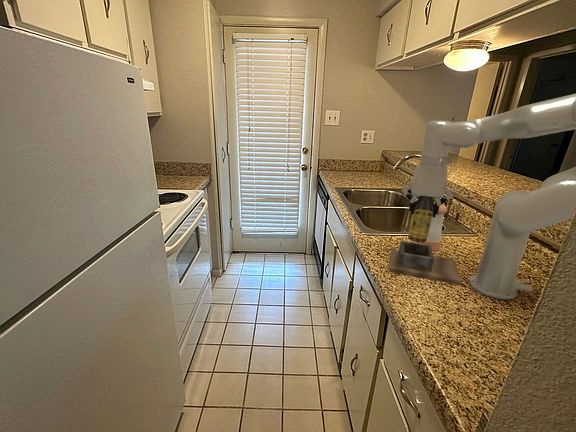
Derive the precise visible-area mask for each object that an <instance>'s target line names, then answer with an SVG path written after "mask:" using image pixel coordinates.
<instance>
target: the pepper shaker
mask: <svg viewBox="0 0 576 432" xmlns="http://www.w3.org/2000/svg"><path fill="white" fill-rule="evenodd" d="M434 204H435V202H434ZM447 212H448V208H447V206H446V205H444V203H443V204H442V205H441V206H439V211H438V215H437V214H436V216H435V217H433V216H432V221H431V225H430V229H429V234H428V238H427V240H426V241H425V242H424V243H419V244H425V245H431V248H432V251H438V250H439V249H440V247H441V238H442V234H443V233H442V232H443V231H442V230H443V222H444V216H445V214H446V213H447Z"/></svg>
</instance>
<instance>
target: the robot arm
mask: <svg viewBox="0 0 576 432" xmlns="http://www.w3.org/2000/svg"><path fill="white" fill-rule="evenodd" d="M573 130H576V93H573V94H569V95H565V96H561V97H556V98H552V99H546V100H543V101H539V102H534V103H531V104H526V105H522V106H519V107H517V108H514V109H511V110H508V111H505V112H501V113H498V114H497V113H496V114H493V115H489V116H488V115H487V116H484V117H481V118H476V119H471V120H466V121H465V120H464V121H455V122H452V121H450V120H430V121H428V122H427V124H426V126H425V133H424V136H423V137H424V138H423V142H422V148H421V149H422V150H421V154H420V159H419V163H417V164H416V165H415V167H414V172H413V175H412V180H411V182H410V183H409V184H408V185H406V186H405V187H403V188H402V189H401V192H402V194H403V195H404V196H405V197H406V199H407V200H408V201H409V210H408V212H410V214H411V216H412V215H413V213H414V208H415V202H416V201H417V199H418V198H419V197H420V196H428V197H433V199H435V202H434V203H435V206H434V211H433V217H435V216H436V214H437V215H438V211H439V206H441V205H442V204H443V205H444V204H445V203H446V202H448V201H449V200H451V199H452V198H454V194H453V193H452V192H451V191H450V189H448V187H447V182H448V181H447V180H448V166H447V165H448V164H452V162H453V159H452V158H449V157H448V155H449V152H450V147H454V148H460V149H468V148H472V147H474V146H475V145H478V144H482V143H483V144H484V143H489V142H494V141H499V140H500V141H501V140H509V139H529V138H536V137H540V136H546V135H550V134H557V133H561V132H567V131H573ZM409 190H410V193H409V192H408V191H409ZM445 194H446V195H445ZM575 208H576V166H574V167H572V168H569V169H567V170H564V171H561V172H558V173H556V174H553V175H551V176H549V177H548V178H546V179H545V180H543V182H542V184H541V185H540V188H537V189H535V190H533V191H530V192H527V191H523V190H517V189H516V190H510V191H507V192H505V193H502V195H500V197H499V198H498V199H497V200H496V202H495V205H494V209H493V213H492V216H491V222H490V226H489V230H488V234H487V237H486V240H485V243H484V247H483V252H482V254H481V257H480V262H479V264H478V265H479V266H478V268H477V272H476V274H474V275H471V276H470V277H469V280H468V282H469V285H470V286H471V288H473V289H474V290H475V291H477V292H479V293H481V294H482V295H484V296H487V297H491V298H494V299H498V300H512V299H515V298H516V297H517V294H518V291H521V290H522V291H525V292H529V293H531V292H533V285H531V284H525V281H524V280H516V278H517V277H516V276H517V274H518V270H519V267H520V265H521V261H522V259H523V257H524V256H523V255H524V253H525V249H526V247H527V244H528V240H529V238H530V235H531V233H532V232H535V231H538V230H541V229H544V228H547V227H550V226H554V225H556V224H559V223H562V222H565V221H566V222H567V221H568V220H571V219H573V218H572V216H573V214H574V211H575Z"/></svg>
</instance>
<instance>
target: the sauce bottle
mask: <svg viewBox="0 0 576 432" xmlns="http://www.w3.org/2000/svg"><path fill="white" fill-rule="evenodd" d="M433 199H434V197H428V196H418V198H417V199H416V200H415V208H414V213H413V215H412V214H411V219H410V220H411V221H410V225H409V230H408V236H407V237H408V239H409V241H410V242H411V241H412V242H413V243H419V244H420V243H424V242H425V241H426V240H427V238H428V234H429V229H430V225H431V221H432V216H433V211H434V206H435V204H434V203H435V202H434V200H433Z"/></svg>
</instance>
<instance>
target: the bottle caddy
mask: <svg viewBox="0 0 576 432" xmlns="http://www.w3.org/2000/svg"><path fill="white" fill-rule="evenodd" d="M389 256H390V257H389V258H390V259H389V270H388V271H389V273H392V274H398V275H404V276H410V277H414V278H420V279H426V280H429V281H436V282H440V283H441V282H442V283H447V284H452V285H455V286H462V284H463V283H462V282H463V281H462V278H461V275H460V272H459V269H458V267H457V264H456V261H455V259H454V258H448V257H443V256H437V255H434V253H433V250H432V248H431V245H425V244H420V243H417V242H413V241H412V242H411V241H410V242H409V241H406V240H405V241H404V240H400V243H399V249H395V248H394V249H393V248H391V249H390V255H389Z"/></svg>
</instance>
